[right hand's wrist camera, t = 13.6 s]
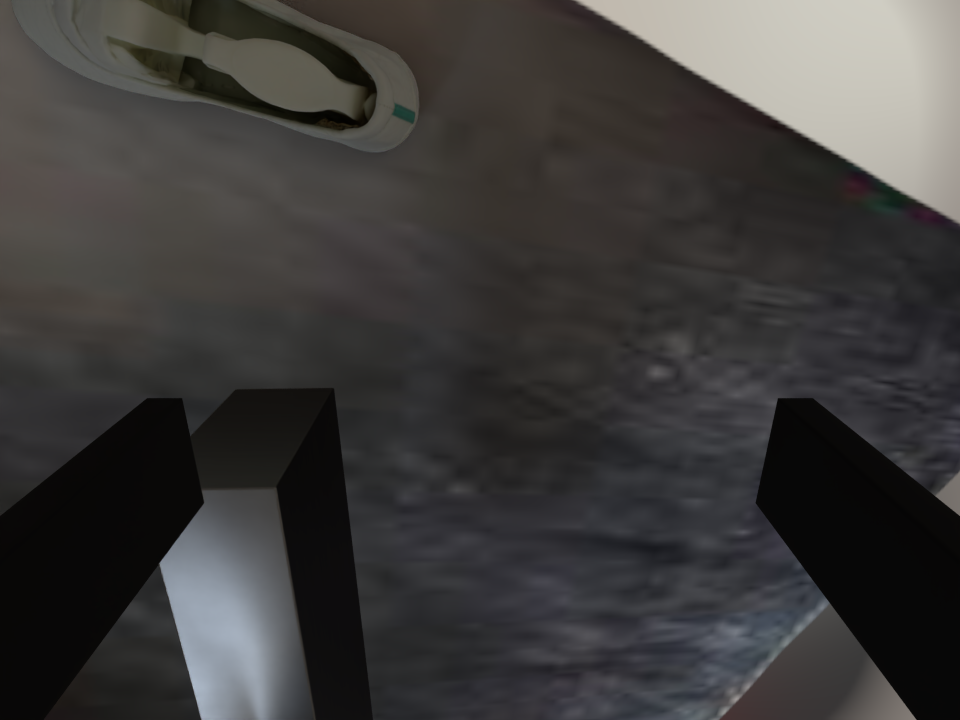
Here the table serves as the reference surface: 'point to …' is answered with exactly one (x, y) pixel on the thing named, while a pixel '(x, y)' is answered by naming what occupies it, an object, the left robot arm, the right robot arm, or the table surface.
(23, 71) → the table surface
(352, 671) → the bar
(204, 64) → the ballet flat
